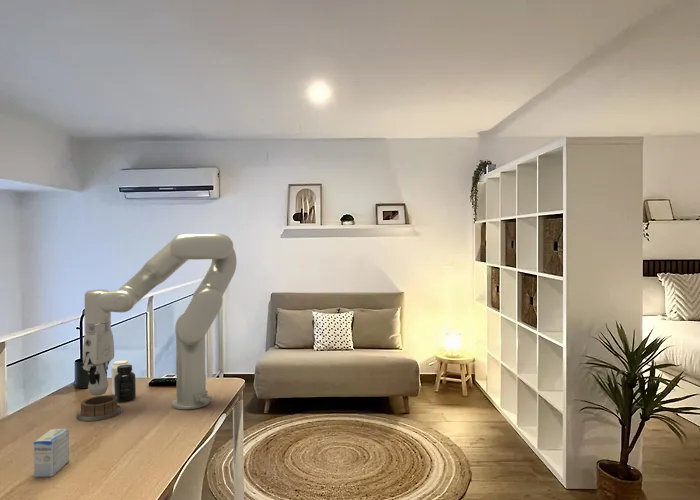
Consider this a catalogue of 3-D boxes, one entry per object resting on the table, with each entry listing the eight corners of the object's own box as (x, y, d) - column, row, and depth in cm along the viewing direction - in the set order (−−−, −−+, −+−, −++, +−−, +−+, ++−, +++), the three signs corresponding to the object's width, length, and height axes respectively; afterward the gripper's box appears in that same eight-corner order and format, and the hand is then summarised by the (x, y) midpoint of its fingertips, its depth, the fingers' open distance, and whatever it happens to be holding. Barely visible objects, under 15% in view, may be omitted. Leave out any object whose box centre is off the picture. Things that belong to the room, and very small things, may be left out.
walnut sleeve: (129, 411, 159) (129, 397, 159) (91, 424, 148) (90, 409, 148) (107, 404, 166) (106, 391, 166) (68, 416, 155) (67, 402, 154)
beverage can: (118, 391, 181) (118, 359, 180) (134, 391, 180) (133, 359, 180) (108, 396, 174) (107, 363, 174) (124, 397, 174) (123, 364, 173)
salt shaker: (112, 391, 158) (112, 352, 158) (98, 397, 153) (97, 356, 153) (98, 390, 160) (98, 351, 160) (84, 395, 155) (83, 354, 155)
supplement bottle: (139, 396, 174) (139, 363, 174) (129, 403, 167) (128, 368, 167) (121, 396, 175) (121, 363, 174) (110, 402, 168) (109, 368, 168)
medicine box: (51, 462, 122) (50, 428, 122) (69, 461, 123) (69, 428, 123) (33, 477, 114) (32, 441, 114) (53, 476, 115) (52, 440, 115)
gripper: (92, 332, 148) (92, 392, 148) (123, 323, 164) (123, 377, 164) (69, 332, 148) (70, 391, 149) (103, 323, 165) (103, 377, 165)
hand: (98, 383), depth 156 cm, fingers closed on salt shaker, 3 cm apart
